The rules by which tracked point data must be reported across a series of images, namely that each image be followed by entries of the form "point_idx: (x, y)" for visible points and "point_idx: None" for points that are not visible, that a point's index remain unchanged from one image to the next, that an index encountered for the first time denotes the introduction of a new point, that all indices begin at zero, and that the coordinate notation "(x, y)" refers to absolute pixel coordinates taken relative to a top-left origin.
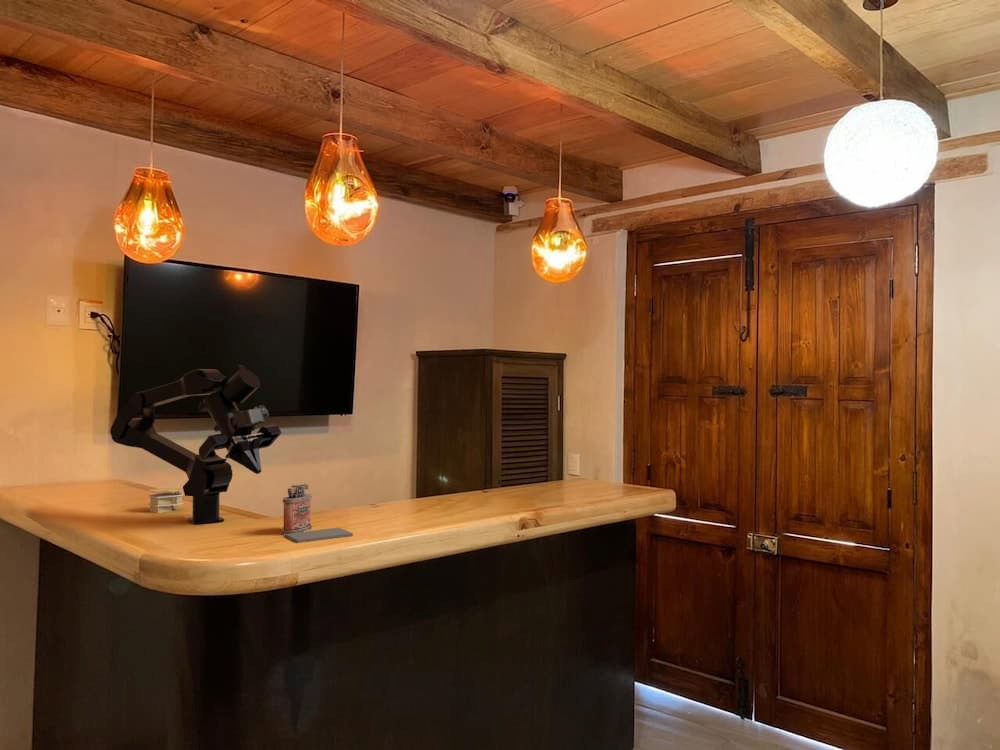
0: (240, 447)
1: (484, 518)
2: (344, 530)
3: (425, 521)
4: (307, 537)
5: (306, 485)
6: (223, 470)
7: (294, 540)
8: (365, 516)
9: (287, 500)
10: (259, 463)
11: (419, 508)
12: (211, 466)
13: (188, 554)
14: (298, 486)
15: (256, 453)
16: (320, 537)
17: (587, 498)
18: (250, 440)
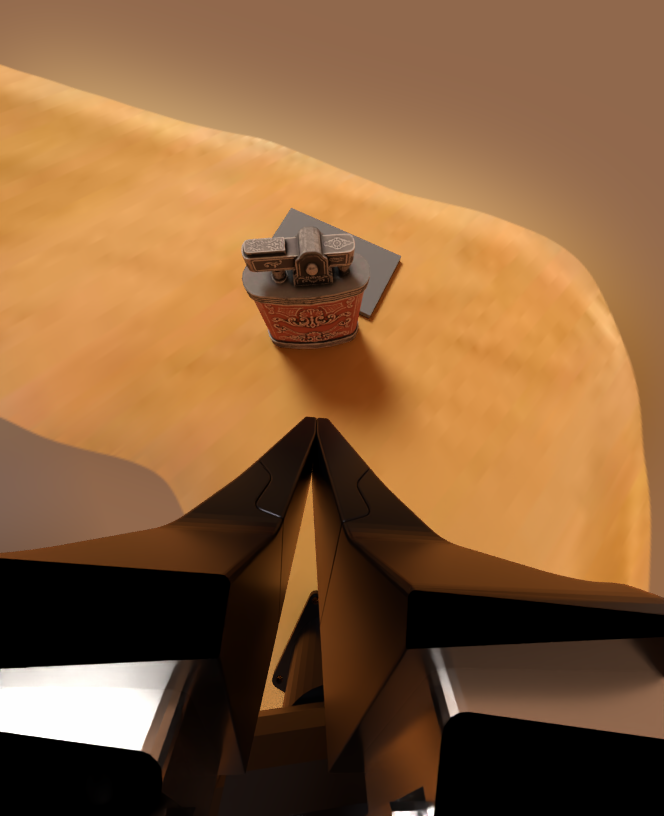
0: (480, 620)
1: (21, 98)
2: (276, 236)
3: (96, 172)
4: (371, 255)
5: (259, 239)
6: (309, 786)
7: (393, 271)
8: (88, 309)
9: (368, 265)
10: (296, 434)
11: None
12: None
13: (592, 366)
14: (315, 229)
15: (270, 482)
16: (355, 236)
17: None
18: (144, 805)
